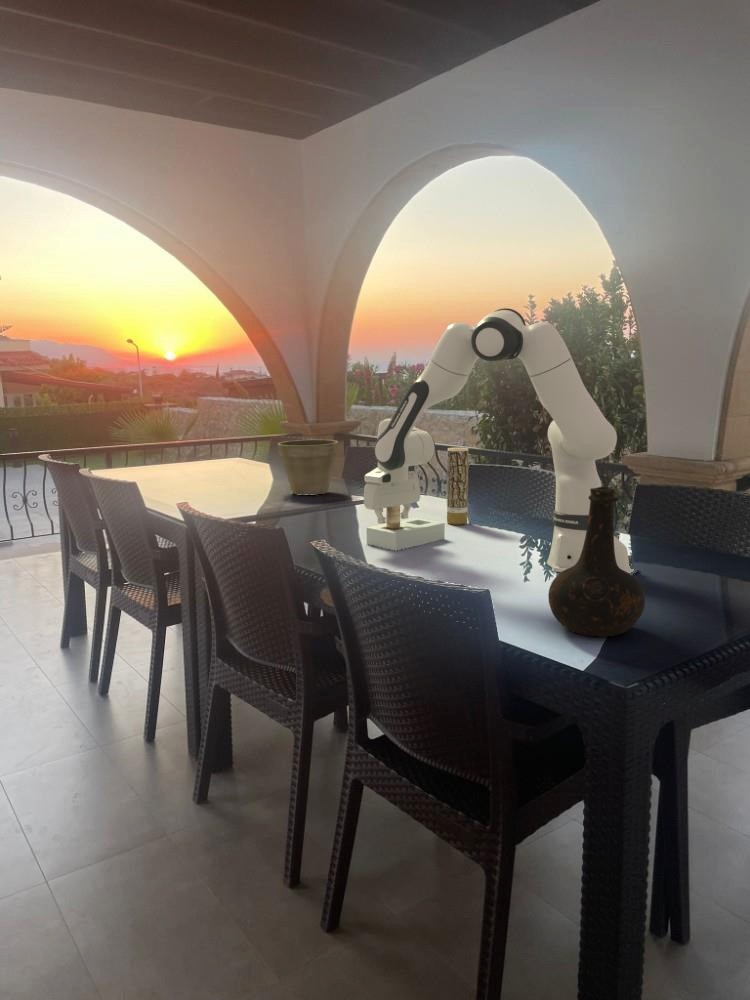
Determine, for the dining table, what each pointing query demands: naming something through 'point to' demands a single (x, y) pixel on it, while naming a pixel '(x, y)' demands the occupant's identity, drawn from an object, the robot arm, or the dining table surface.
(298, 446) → the plant pot
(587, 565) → the glass bottle
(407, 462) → the robot arm
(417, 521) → the board
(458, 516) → the bark-textured cylinder
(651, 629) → the dining table surface
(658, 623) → the dining table surface
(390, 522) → the peg
